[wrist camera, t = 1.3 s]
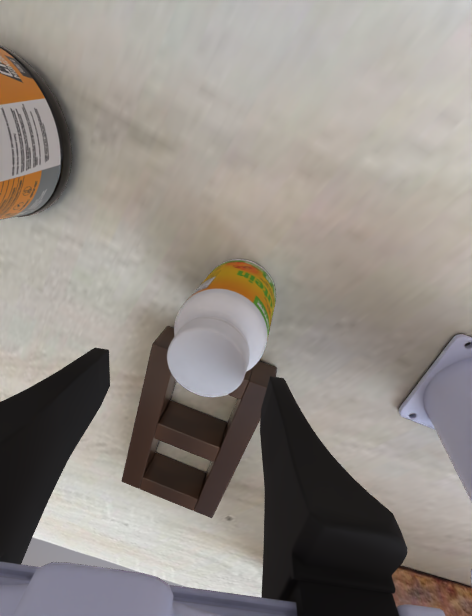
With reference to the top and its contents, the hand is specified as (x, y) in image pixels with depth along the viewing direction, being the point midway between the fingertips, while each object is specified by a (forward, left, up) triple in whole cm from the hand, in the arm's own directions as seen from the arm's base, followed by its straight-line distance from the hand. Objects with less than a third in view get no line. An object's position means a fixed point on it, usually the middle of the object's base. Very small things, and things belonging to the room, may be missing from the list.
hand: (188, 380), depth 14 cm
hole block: (0, +14, -11) cm, 18 cm away
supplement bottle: (0, 0, -11) cm, 11 cm away
